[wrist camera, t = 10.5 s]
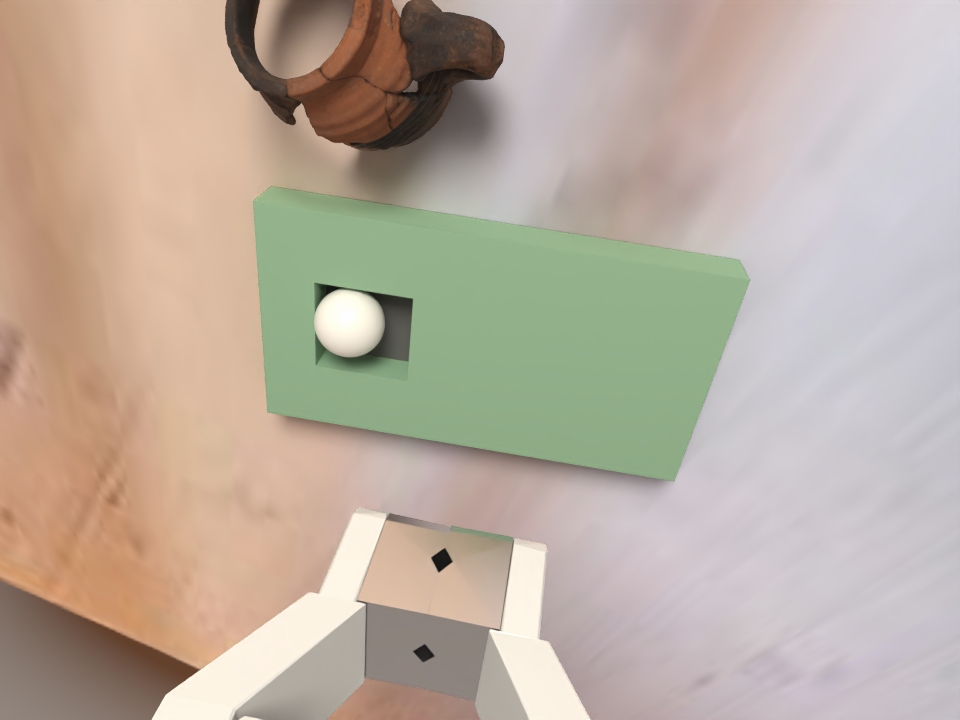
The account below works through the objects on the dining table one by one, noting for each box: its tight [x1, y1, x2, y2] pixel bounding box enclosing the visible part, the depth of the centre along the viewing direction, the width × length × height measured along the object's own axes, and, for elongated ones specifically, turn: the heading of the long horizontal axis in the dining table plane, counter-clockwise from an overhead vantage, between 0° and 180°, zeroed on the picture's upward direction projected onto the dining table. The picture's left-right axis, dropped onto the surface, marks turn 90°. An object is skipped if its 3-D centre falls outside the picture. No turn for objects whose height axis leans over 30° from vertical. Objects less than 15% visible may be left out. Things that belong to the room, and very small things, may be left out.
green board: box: [253, 186, 750, 481], centre depth 39 cm, size 26×14×2 cm, turn 83°
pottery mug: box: [225, 0, 505, 151], centre depth 30 cm, size 12×10×8 cm
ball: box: [314, 288, 385, 357], centre depth 38 cm, size 4×4×4 cm
